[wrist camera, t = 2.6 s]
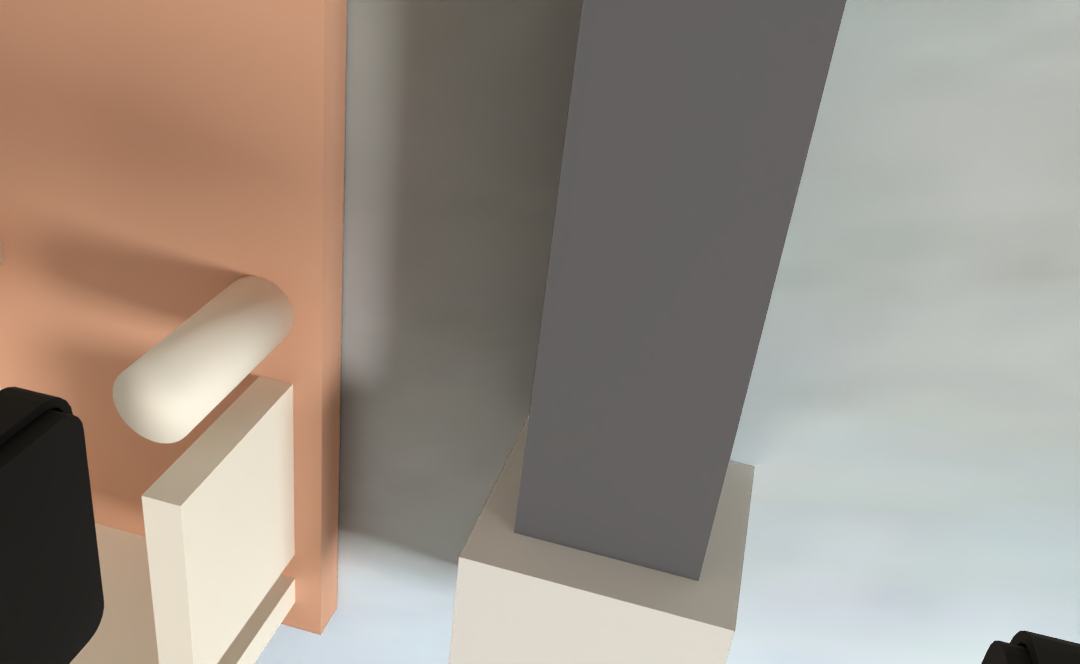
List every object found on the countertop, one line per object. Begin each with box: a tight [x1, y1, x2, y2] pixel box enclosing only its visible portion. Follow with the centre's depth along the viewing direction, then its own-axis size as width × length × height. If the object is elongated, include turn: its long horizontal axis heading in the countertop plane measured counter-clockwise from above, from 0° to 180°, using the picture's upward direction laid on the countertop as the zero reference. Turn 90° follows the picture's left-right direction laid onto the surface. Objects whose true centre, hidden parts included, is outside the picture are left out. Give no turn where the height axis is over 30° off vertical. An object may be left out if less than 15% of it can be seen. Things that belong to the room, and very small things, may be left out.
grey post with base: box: [449, 0, 846, 664], centre depth 17 cm, size 23×5×5 cm, turn 173°
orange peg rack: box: [0, 0, 347, 664], centre depth 19 cm, size 26×10×6 cm, turn 173°
